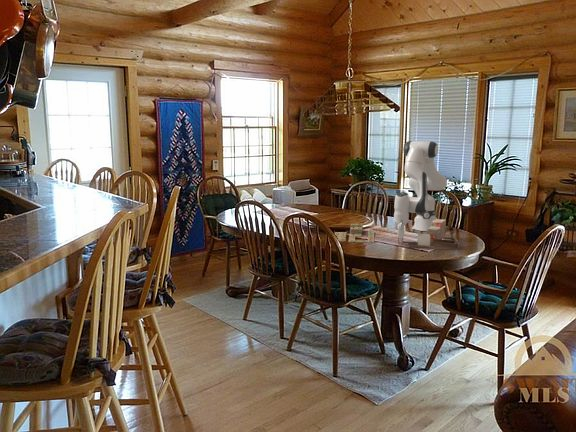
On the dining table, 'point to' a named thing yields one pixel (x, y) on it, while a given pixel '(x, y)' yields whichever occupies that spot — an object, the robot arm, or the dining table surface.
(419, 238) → the block
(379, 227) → the dining table surface
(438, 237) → the stack of blocks
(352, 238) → the pile of dominoes
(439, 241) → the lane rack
